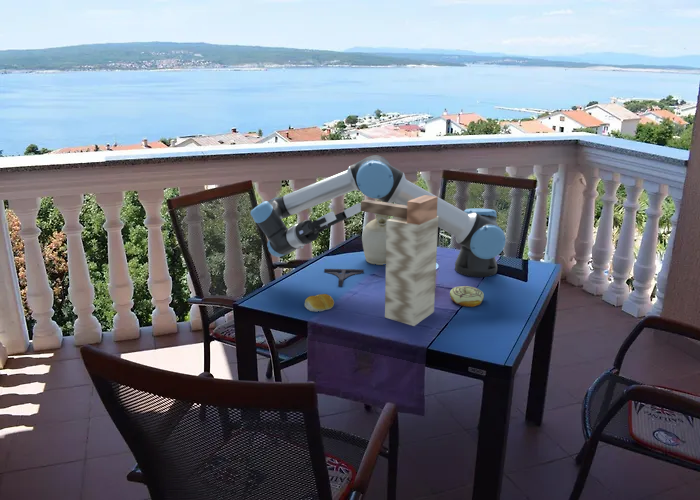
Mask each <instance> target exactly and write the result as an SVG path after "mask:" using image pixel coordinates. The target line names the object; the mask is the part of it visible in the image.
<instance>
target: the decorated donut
mask: <svg viewBox="0 0 700 500" xmlns="http://www.w3.org/2000/svg"><path fill="white" fill-rule="evenodd" d="M484 296H485V294H484V292H483V291H482V290H480V289H479V288H477V287H475V286H468V285H463V286H460V285H459V286H454V287H453V288H452V289H451V290H450V292H449V297H450V299H451V301H453V302H454V303H455V304H457V305H459V306H461V307H471V308H474V307H477V306H480V305H481V304H482V302H483V300H484V298H485V297H484Z"/></svg>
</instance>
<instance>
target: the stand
mask: <svg viewBox="0 0 700 500" xmlns="http://www.w3.org/2000/svg"><path fill="white" fill-rule="evenodd" d="M438 232H439V227H438V216H437V217H436V218H434V219H432V220H429V221H427V222H425V223H423V224H420V225H418V224H412V223H407V219H405V218H399V217H393V216H392V217H391V218H389V219H388V220H387V223H386V265H385V288H384V289H385V290H384V300H385V301H384V318H386V319H389V320H392V321H395V322H398V323H402V324H405V325H409V326H412V327H416V326H417V325H418V324H419V323H420V322H422V321H423V320H425V319H427V318H428V317H429V316H431V315H432V314H434V313H435V299H436V296H435V295H436V277H437V275H436V274H437V255H438V254H437V252H438Z"/></svg>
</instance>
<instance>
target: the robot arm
mask: <svg viewBox="0 0 700 500" xmlns="http://www.w3.org/2000/svg"><path fill="white" fill-rule="evenodd" d="M354 191H357V192H361V193H362V194H363V195H364V196H366V197H367V198H371V199H375V200H376V199H379V200H381V202H387V203H393V204H400V205H406V206H407V201H410V200H413V199H415V198H418V197H421V196H424V195H429V196H436V197H438V201H437V216H438V229H439V228H440V229H441V230H442V231H443V230H444V231H445V232H446V233H449V234H451V235H452V236H454V237H455V241H456V243H457V244H458V245H460V251H459V253H458V255H457V257H456V260H455V262H454V270H455V271H456V272H457V273H458V274H461V275H463V276H468V277H472V278H473V277H474V278H486V277H491V276H494V275H496V274H497V272H498V262H497V259H496V257H497V256H499V255H500V254H501V253H502V252H503V250H504V248H505V246H506V236H505V232H504V230H503V229H502V228H501V227H500V226H499V225H498V223H497V218H498V216H497V211H496V210H495V209H493V208H492V209H491V208H479V207H477V208H475V207H474V208H473V207H472V208H466V209H464V210H462V209H460V208H459V207H456V206H455V205H453V204H452V203H450V202H448V201H446V200H445V199H442V198H440V197H439V196H437V195H435V194H434V193H431V192H430V191H428V190H426V189H424V188H422V187H421V186H419V185H417V184H415V183H414V182H411V181H409V180H408V179H407V178H406V175H405V172H404V171H401V170H400V169H398V168H396V167H394V166H392V165H391V163H390V162H389V160H388V159H386V158H385V157H383V156H380V155H370V156H369V155H368V156H367V157H365V158H363V159H362V160H360V161H357V162H355V163H353V164H351V165H349V166H348V168H347V170H344V171H342V172H339V173H336V174H334V175H332V176H329V177H327V178H324V179H322V180H319V181H317V182H313V183H311V184H309V185H306V186H304V187H301V188H300V189H298V190H294V191H292V192H289V193H287V194H285V195H284V194H283V196H280V197H274V198H272V199H270V200H268V201H267V200H264V201H262V202H261V203H259V204H258V205H256V206H255V207H254V208H252V209H251V210H250V216H251V217H252V219H253V220H254V222H255V223H256V224H257V226H258V227H259V229H260V230H261V231H262V232H263V233H264V235H265V237H267V240H268V241H267V243H266V245H267V248H268V252H269V253H270V255H271V256H273V257H276V258H280V257H283V256H287V255H289V254H291V253H292V252H294V251H296V250H298V249H300V248H301V249H304V247H305V246H306V245H308V244H309V245H310V244H311V243H313V242H315V241H316V240H317V239H318V238H319V233H321V232H324V230H326V229H329V228H331V227H332V226H334V225H336V224H338V223H340V222H343V221H345V220H348V219H349V218H351V217H353V216H354V215H357V214H359V213H360V212H362V211H361V202H358V203H355V204H354V205H351V206H350V207H348V208H346V207H345V208H344V209H343V211H341V212H339V213H336V214H335V212H334V210H333V211H330V212H328V213H326V214H324V215H322V216H320V217H318V218H317V219H314V220H313V221H312V220H310V219H304V220H302V221H300V222H298V223H297V224H294V225H293V226H291V227H289V228H288V227H287V225H286V224H285V223H284V221H283V219H285V218H288V217H290V216H292V215H295V214H298V213H300V212H303V211H305V210H308V209H311V208H313V207H316V206H318V205H320V204H323V203H326V202H329V201H331V200H334V199H336V198H339V197H341V196H343V195H345V194H348V193H351V192H354Z"/></svg>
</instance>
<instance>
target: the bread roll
mask: <svg viewBox="0 0 700 500" xmlns="http://www.w3.org/2000/svg"><path fill="white" fill-rule="evenodd" d="M334 304H335V300H334V298H333V297H332V296H331V295H329V294H327V293H320V294H316V295H310V296H308V297H306V299H305V300H304V307H305V308H306V309H307V310H308V311H310V312H315V313H316V312H317V313H318V311H319V312H323V311H327V310H328V311H329V310H331V309H332V308H333V307H334Z"/></svg>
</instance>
